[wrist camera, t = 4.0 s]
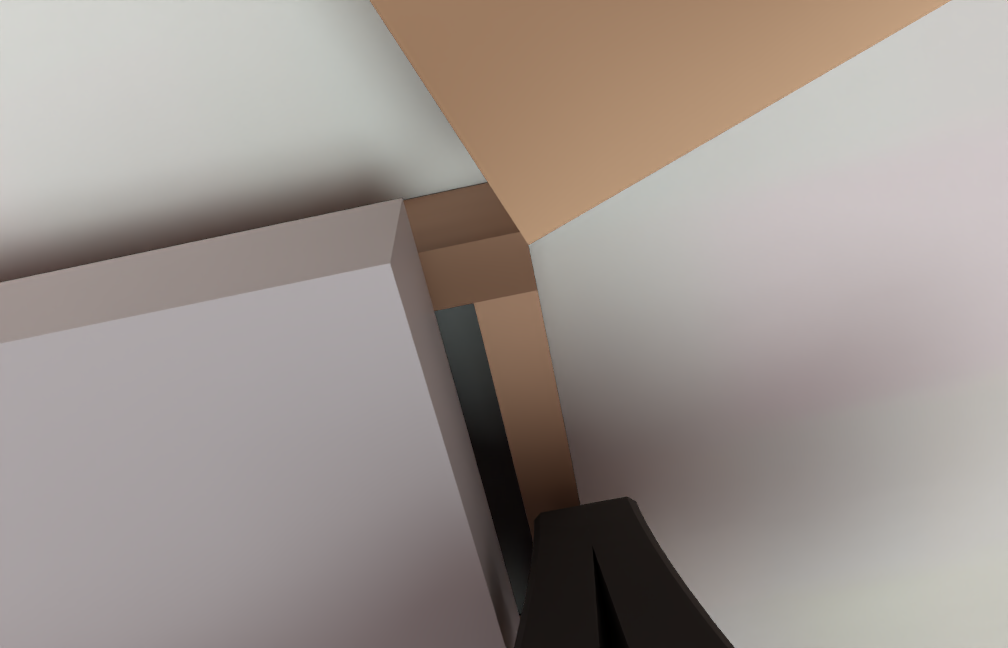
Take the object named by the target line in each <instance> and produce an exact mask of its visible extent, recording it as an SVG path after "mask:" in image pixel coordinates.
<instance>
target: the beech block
mask: <svg viewBox="0 0 1008 648" xmlns="http://www.w3.org/2000/svg"><path fill="white" fill-rule="evenodd" d="M949 1H951V0H370V2H371V3H372V5H373V6H374V8H375V9H376V11H377V12H378V14H379V15H380V17H381V19H382V20H383V22H384V23H385V25H386V26H387V28H388V29H389V31H390V32H391V34H392V35H393V37H394V39H395V40H396V42H397V43H398V45H399V46H400V48H401V49H402V51H403V52H404V54H405V55H406V57H407V59H408V60H409V62H410V63H411V65H412V66H413V68H414V69H415V71H416V72H417V74H418V75H419V77H420V79H421V80H422V82H423V83H424V85H425V86H426V88H427V89H428V91H429V92H430V94H431V95H432V97H433V99H434V100H435V102H436V103H437V105H438V106H439V108H440V109H441V111H442V112H443V114H444V115H445V117H446V119H447V120H448V122H449V123H450V125H451V126H452V128H453V129H454V131H455V132H456V134H457V136H458V137H459V139H460V140H461V142H462V143H463V145H464V146H465V148H466V149H467V151H468V152H469V154H470V156H471V157H472V159H473V160H474V162H475V163H476V165H477V166H478V168H479V169H480V171H481V172H482V174H483V176H484V177H485V179H486V180H487V182H488V183H489V185H490V186H491V188H492V189H493V191H494V192H495V194H496V196H497V197H498V199H499V200H500V202H501V203H502V205H503V206H504V208H505V209H506V211H507V212H508V214H509V216H510V217H511V219H512V220H513V222H514V223H515V225H516V226H517V228H518V229H519V231H520V232H521V234H522V236H523V237H524V239H525V240H526V242H527V243H528V245H529V244H531V243H533V242H535V241H536V240H538V239H540V238H542V237H543V236H545V235H547V234H548V233H550V232H552V231H554V230H555V229H557V228H559V227H561V226H562V225H564V224H566V223H567V222H569V221H571V220H573V219H574V218H576V217H578V216H580V215H581V214H583V213H585V212H586V211H588V210H590V209H592V208H593V207H595V206H597V205H599V204H600V203H602V202H604V201H605V200H607V199H609V198H611V197H612V196H614V195H616V194H618V193H619V192H621V191H623V190H624V189H626V188H628V187H630V186H631V185H633V184H635V183H637V182H638V181H640V180H642V179H643V178H645V177H647V176H649V175H650V174H652V173H654V172H656V171H657V170H659V169H661V168H662V167H664V166H666V165H668V164H669V163H671V162H673V161H675V160H676V159H678V158H680V157H681V156H683V155H685V154H687V153H688V152H690V151H692V150H694V149H695V148H697V147H699V146H700V145H702V144H704V143H706V142H707V141H709V140H711V139H713V138H714V137H716V136H718V135H719V134H721V133H723V132H725V131H726V130H728V129H730V128H732V127H733V126H735V125H737V124H738V123H740V122H742V121H744V120H745V119H747V118H749V117H751V116H752V115H754V114H756V113H757V112H759V111H761V110H763V109H764V108H766V107H768V106H770V105H771V104H773V103H775V102H776V101H778V100H780V99H782V98H783V97H785V96H787V95H789V94H790V93H792V92H794V91H795V90H797V89H799V88H801V87H802V86H804V85H806V84H808V83H809V82H811V81H813V80H814V79H816V78H818V77H820V76H821V75H823V74H825V73H827V72H828V71H830V70H832V69H833V68H835V67H837V66H839V65H840V64H842V63H844V62H846V61H847V60H849V59H851V58H852V57H854V56H856V55H858V54H859V53H861V52H863V51H865V50H866V49H868V48H870V47H871V46H873V45H875V44H877V43H878V42H880V41H882V40H884V39H885V38H887V37H889V36H890V35H892V34H894V33H896V32H897V31H899V30H901V29H903V28H904V27H906V26H908V25H909V24H911V23H913V22H915V21H916V20H918V19H920V18H922V17H923V16H925V15H927V14H928V13H930V12H932V11H934V10H935V9H937V8H939V7H941V6H942V5H944V4H946V3H947V2H949Z"/></svg>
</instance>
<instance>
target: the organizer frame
mask: <svg viewBox="0 0 1008 648" xmlns="http://www.w3.org/2000/svg"><path fill="white" fill-rule="evenodd" d="M403 202H404V205H405V209H406V212H407V216H408V219H409V223H410V227H411V230H412V234H413V237H414V241H415V244H416V248H417V252H418V255H419V259H420V262H421V266H422V270H423V273H424V277H425V280H426V284H427V287H428V291H429V295H430V298H431V302H432V305H433V309H434V311H437V310H442V309H447V308H452V307H457V306H462V305H467V304H472V303H474V307H475V311H476V315H477V319H478V323H479V327H480V331H481V335H482V339H483V343H484V347H485V351H486V355H487V359H488V363H489V367H490V371H491V375H492V379H493V383H494V387H495V391H496V395H497V399H498V403H499V407H500V411H501V415H502V419H503V423H504V427H505V431H506V435H507V439H508V443H509V447H510V451H511V455H512V459H513V463H514V467H515V471H516V475H517V479H518V483H519V487H520V492H521V496H522V500H523V504H524V508H525V512H526V516H527V520H528V524H529V528H530V532H531V536H532V540H533V538H534V519H535V518H536V517H537V516H538V515H539V514H540V513H541V512H546V511H552V510H557V509H563V508H568V507H574V506H579V505H580V501H579V496H578V491H577V486H576V481H575V476H574V471H573V466H572V461H571V456H570V451H569V446H568V441H567V436H566V431H565V426H564V421H563V416H562V411H561V406H560V401H559V396H558V391H557V386H556V381H555V376H554V371H553V366H552V361H551V356H550V351H549V346H548V341H547V336H546V331H545V326H544V321H543V316H542V311H541V306H540V301H539V296H538V291H537V286H536V281H535V276H534V271H533V266H532V261H531V256H530V251H529V246H528V243H527V242H526V240H525V239H524V237H523V236H522V234H521V232H520V231H519V229H518V228H517V226H516V225H515V223H514V222H513V220H512V219H511V217H510V216H509V214H508V212H507V211H506V209H505V208H504V206H503V205H502V203H501V202H500V200H499V199H498V197H497V196H496V194H495V192H494V191H493V189H492V188H491V186H490V185H489V183H484V184H479V185H474V186H470V187H465V188H460V189H455V190H451V191H446V192H441V193H436V194H432V195H427V196H422V197H417V198H413V199H408V200H403ZM519 617H520V618H521V616H519Z"/></svg>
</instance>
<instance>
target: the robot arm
mask: <svg viewBox="0 0 1008 648" xmlns="http://www.w3.org/2000/svg"><path fill="white" fill-rule="evenodd" d="M514 648H734V647H733V645H732V644H731V643H730V642H729V640H728V639H727V638H726V637H725V635H724V634H723V633H722V632H721V630H720V629H719V628H718V627H717V625H716V624H715V623H714V622H713V620H712V619H711V618H710V616H709V615H708V614H707V612H706V611H705V610H704V608H703V607H702V606H701V604H700V603H699V602H698V600H697V599H696V598H695V596H694V595H693V594H692V592H691V591H690V590H689V588H688V587H687V586H686V584H685V583H684V581H683V580H682V579H681V577H680V576H679V574H678V573H677V571H676V570H675V568H674V567H673V565H672V564H671V562H670V561H669V559H668V558H667V556H666V555H665V553H664V552H663V550H662V549H661V547H660V545H659V544H658V542H657V541H656V539H655V537H654V536H653V534H652V532H651V530H650V529H649V527H648V525H647V523H646V521H645V520H644V518H643V516H642V514H641V512H640V510H639V507H638V505H637V503H636V501H634V500H632V499H630V498H629V497H622V498H617V499H612V500H606V501H601V502H595V503H590V504H584V505H579V506H574V507H568V508H563V509H557V510H552V511H546V512H541V513H540V514H539V515H538V516H537V517H536V518H535V519H534V538H533V550H532V559H531V566H530V573H529V579H528V584H527V590H526V596H525V601H524V605H523V609H522V614H521V618H520V623H519V627H518V631H517V636H516V640H515V645H514Z"/></svg>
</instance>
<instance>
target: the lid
mask: <svg viewBox="0 0 1008 648" xmlns="http://www.w3.org/2000/svg"><path fill="white" fill-rule="evenodd" d="M519 623H520V617H519V613H518V610H517V606H516V603H515V599H514V596H513V592H512V588H511V585H510V581H509V578H508V574H507V570H506V567H505V563H504V560H503V556H502V553H501V549H500V545H499V542H498V538H497V535H496V531H495V527H494V524H493V520H492V517H491V513H490V510H489V506H488V502H487V499H486V495H485V492H484V488H483V484H482V481H481V477H480V474H479V470H478V467H477V463H476V459H475V456H474V452H473V449H472V445H471V442H470V438H469V434H468V431H467V427H466V424H465V420H464V416H463V413H462V409H461V406H460V402H459V399H458V395H457V391H456V388H455V384H454V381H453V377H452V373H451V370H450V366H449V363H448V359H447V356H446V352H445V348H444V345H443V341H442V338H441V334H440V330H439V327H438V323H437V320H436V316H435V313H434V309H433V305H432V302H431V298H430V295H429V291H428V287H427V284H426V280H425V277H424V273H423V270H422V266H421V262H420V259H419V255H418V252H417V248H416V244H415V241H414V237H413V234H412V230H411V227H410V223H409V219H408V216H407V212H406V209H405V205H404V202H403V198H399V199H394V200H390V201H385V202H380V203H375V204H371V205H366V206H361V207H356V208H352V209H347V210H342V211H337V212H333V213H328V214H323V215H318V216H314V217H309V218H304V219H299V220H295V221H290V222H285V223H280V224H276V225H271V226H266V227H261V228H257V229H252V230H247V231H242V232H238V233H233V234H228V235H223V236H219V237H214V238H209V239H204V240H200V241H195V242H190V243H185V244H181V245H176V246H171V247H166V248H162V249H157V250H152V251H147V252H143V253H138V254H133V255H128V256H124V257H119V258H114V259H109V260H105V261H100V262H95V263H90V264H86V265H81V266H76V267H71V268H67V269H62V270H57V271H52V272H48V273H43V274H38V275H33V276H29V277H24V278H19V279H14V280H10V281H5V282H0V648H514V645H515V640H516V636H517V631H518V627H519Z"/></svg>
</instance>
